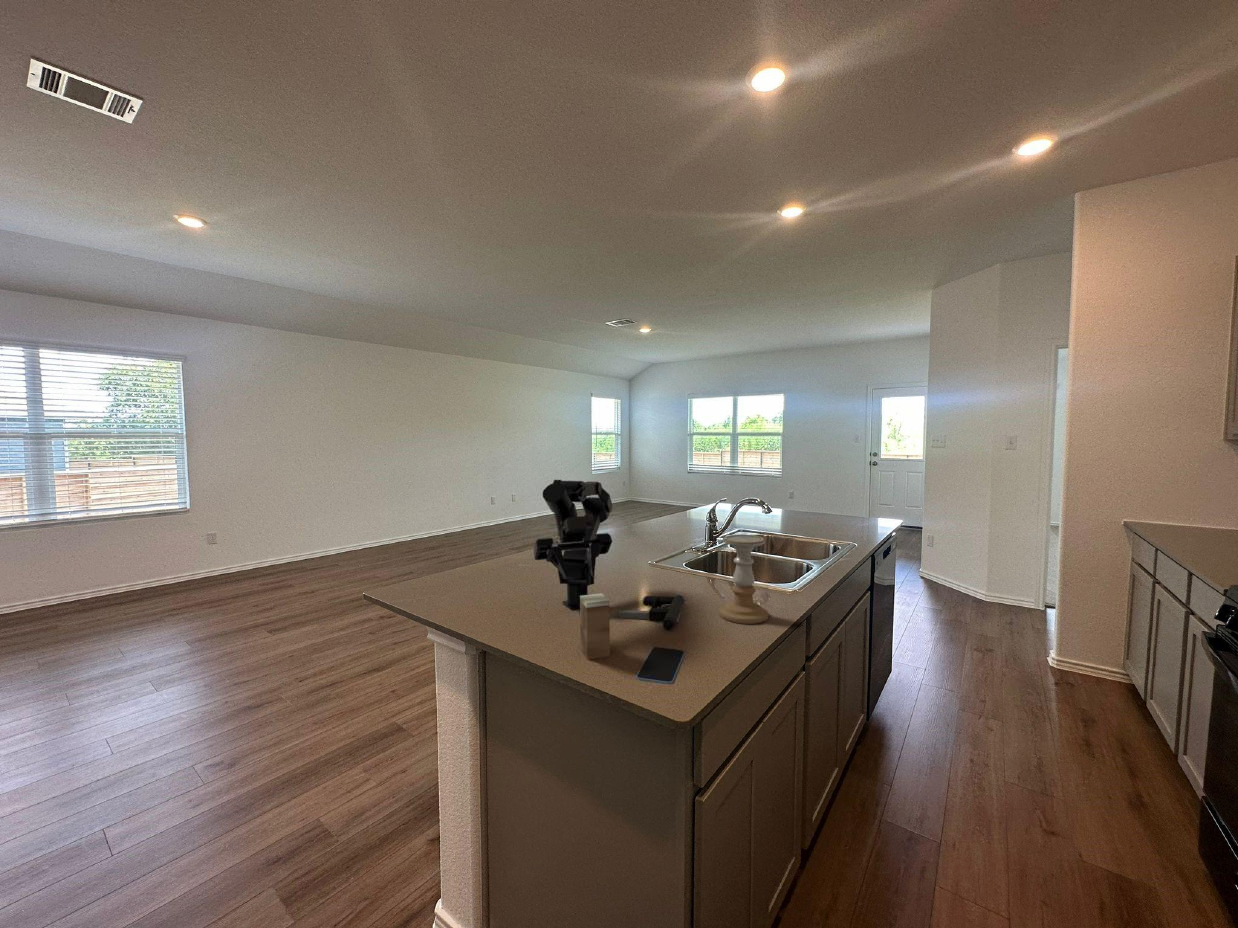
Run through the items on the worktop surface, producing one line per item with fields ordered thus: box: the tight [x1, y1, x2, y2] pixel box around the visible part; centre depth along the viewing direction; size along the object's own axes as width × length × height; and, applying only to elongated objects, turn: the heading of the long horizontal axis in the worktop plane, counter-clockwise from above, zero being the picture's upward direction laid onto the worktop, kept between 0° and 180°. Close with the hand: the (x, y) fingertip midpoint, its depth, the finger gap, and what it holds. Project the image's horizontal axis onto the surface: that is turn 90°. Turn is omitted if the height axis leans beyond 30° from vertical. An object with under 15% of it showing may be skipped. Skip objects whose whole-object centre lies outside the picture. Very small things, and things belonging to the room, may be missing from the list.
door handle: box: [619, 594, 687, 631], centre depth 131 cm, size 3×20×16 cm
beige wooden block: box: [579, 592, 611, 660], centre depth 108 cm, size 5×5×12 cm
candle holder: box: [718, 534, 769, 625], centre depth 129 cm, size 12×12×20 cm
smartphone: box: [635, 646, 686, 685], centre depth 102 cm, size 7×1×15 cm
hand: (580, 576), depth 118 cm, fingers open, 6 cm apart
